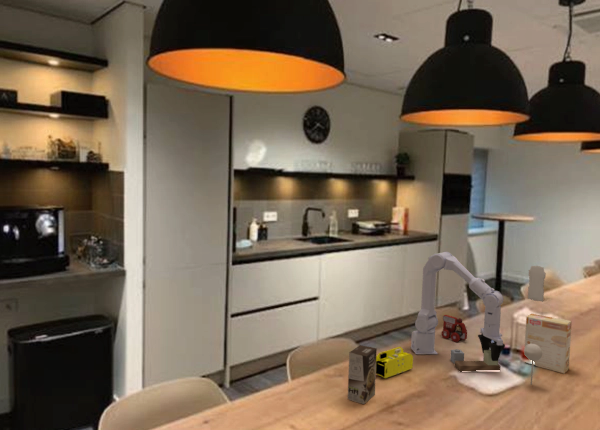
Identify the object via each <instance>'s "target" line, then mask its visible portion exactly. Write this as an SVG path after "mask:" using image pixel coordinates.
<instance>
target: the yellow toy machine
mask: <svg viewBox="0 0 600 430" xmlns="http://www.w3.org/2000/svg"><path fill="white" fill-rule="evenodd" d="M413 364H414V355H412V353H408V352H405V351H404V348H403V347H402V346H397V347H395V348H390V349H388V350H384V351H381V352H378V354H376V375H377V376H379V377H381V378H382V379H383V378H384V379H387V378H390V377H393V376H395V375H399V374H400V373H402V374H403V373H404V372H407V371H409V370H411V369H413V366H414V365H413Z"/></svg>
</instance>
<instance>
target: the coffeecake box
mask: <svg viewBox="0 0 600 430" xmlns="http://www.w3.org/2000/svg"><path fill="white" fill-rule="evenodd" d="M524 336H525V337H524V348H525V347H526V346H527V345H528V344H536V345H538V346H539V347H540V348H541V350H542V357H541V358H540V359H539V360H536V361H534V362H535V365H536V366H535V367H539V368H543V369H545V370H550V371H554V372H557V373H562V374H565V373H566V372H567V371H568V370H569V369H570V353H571V341H572V340H571V338H572V337H571V336H572V320H569V319H563V318H557V317H553V316H546V315H540V314H536V313H530V314H529V315H528V314H527V316H526V320H525V335H524ZM523 353H524V352H523ZM524 355H525V353H524Z"/></svg>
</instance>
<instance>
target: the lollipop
mask: <svg viewBox="0 0 600 430" xmlns="http://www.w3.org/2000/svg"><path fill="white" fill-rule="evenodd" d="M523 353H525V356H526V357H527V358H528V359H530V360H532V365H531V370H530V373H531V374H530V385H533V373H534V365H533V361H536V360H539V359H540V358H541V357H542V350H541V348H540V347H539V346H538V345H536V344H528V345H527V346H526V347H525V346H524V349H523Z"/></svg>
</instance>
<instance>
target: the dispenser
mask: <svg viewBox="0 0 600 430" xmlns="http://www.w3.org/2000/svg"><path fill="white" fill-rule="evenodd" d="M544 269H545V268H544V267H542V266H539V265H531V266H530V269H528V276H529V282H528V289H527V290H528V291H527V299H529V300H532V301H539V302H544V298H545V297H544V296H545V289H544V286H545V279H546V275H547V273H546V272H545V270H544Z"/></svg>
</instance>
